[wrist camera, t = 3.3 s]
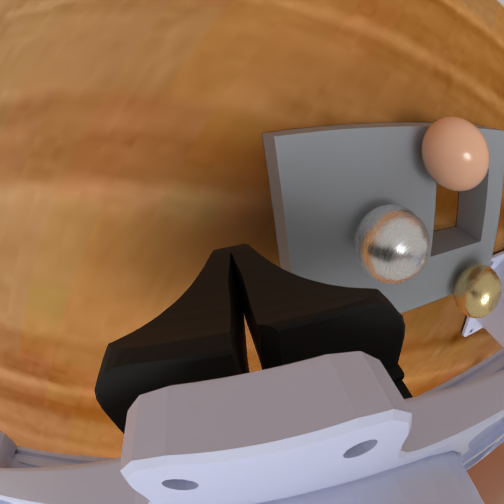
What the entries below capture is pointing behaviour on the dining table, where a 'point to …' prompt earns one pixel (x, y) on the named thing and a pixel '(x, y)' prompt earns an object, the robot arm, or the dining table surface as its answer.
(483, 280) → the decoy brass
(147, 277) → the dining table surface
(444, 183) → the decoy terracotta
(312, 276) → the grey tray with hole
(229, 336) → the robot arm
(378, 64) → the dining table surface
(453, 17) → the dining table surface
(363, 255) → the steel ball
